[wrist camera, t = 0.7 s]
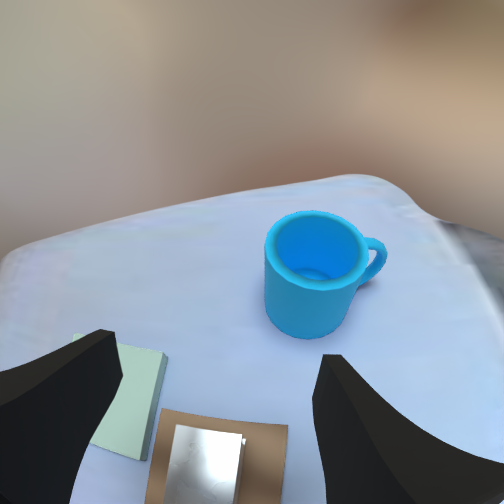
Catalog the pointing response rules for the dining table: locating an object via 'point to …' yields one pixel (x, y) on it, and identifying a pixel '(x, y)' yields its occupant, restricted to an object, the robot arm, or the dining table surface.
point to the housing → (204, 467)
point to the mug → (315, 271)
